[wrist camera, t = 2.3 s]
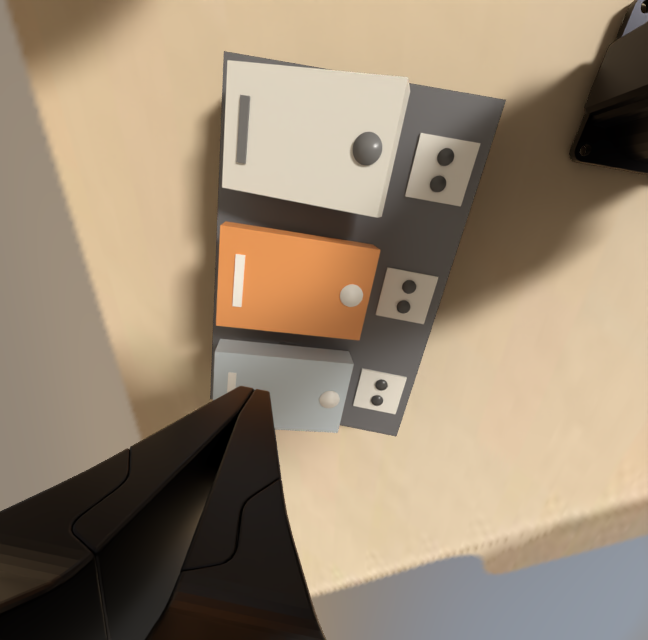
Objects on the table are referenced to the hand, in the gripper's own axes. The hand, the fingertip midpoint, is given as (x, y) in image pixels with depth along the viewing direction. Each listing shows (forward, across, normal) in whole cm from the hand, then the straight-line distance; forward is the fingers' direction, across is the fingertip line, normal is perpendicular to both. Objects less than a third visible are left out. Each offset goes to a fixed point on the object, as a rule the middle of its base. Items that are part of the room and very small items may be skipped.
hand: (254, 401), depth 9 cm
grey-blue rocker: (+8, 0, +5) cm, 9 cm away
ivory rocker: (+8, 0, -7) cm, 11 cm away
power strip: (+12, -1, -1) cm, 12 cm away
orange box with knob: (+8, 0, -1) cm, 8 cm away
